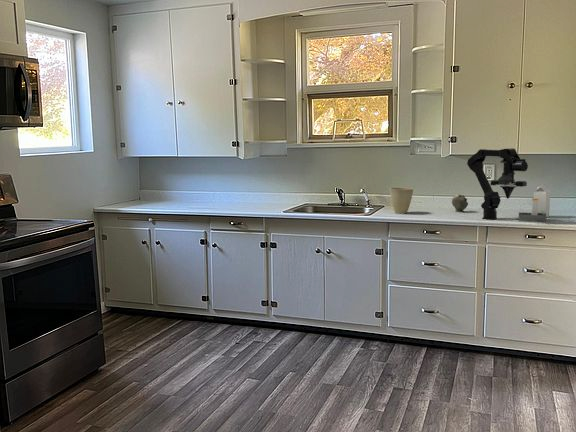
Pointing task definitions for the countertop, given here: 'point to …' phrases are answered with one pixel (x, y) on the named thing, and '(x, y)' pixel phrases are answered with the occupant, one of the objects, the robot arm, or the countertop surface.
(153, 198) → the countertop surface
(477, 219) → the countertop surface
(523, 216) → the switch housing
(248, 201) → the countertop surface
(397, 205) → the plant pot
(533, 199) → the switch lever
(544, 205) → the milk carton
